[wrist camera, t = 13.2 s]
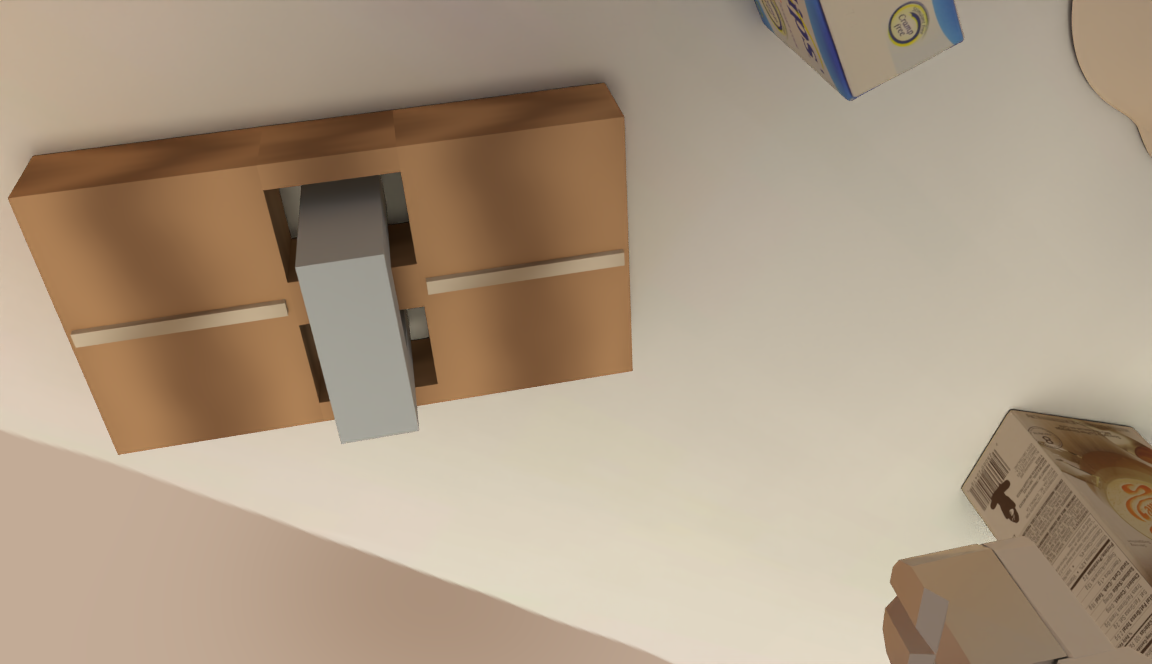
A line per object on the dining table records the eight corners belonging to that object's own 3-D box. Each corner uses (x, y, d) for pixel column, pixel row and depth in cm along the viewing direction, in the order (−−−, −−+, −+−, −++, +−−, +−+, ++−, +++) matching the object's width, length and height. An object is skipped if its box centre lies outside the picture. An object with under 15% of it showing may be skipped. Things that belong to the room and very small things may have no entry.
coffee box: (1136, 422, 58) (1363, 648, 45) (1078, 503, 62) (1274, 736, 49) (1007, 406, 56) (1209, 641, 43) (953, 492, 59) (1126, 735, 46)
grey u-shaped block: (377, 161, 41) (383, 254, 35) (409, 323, 45) (419, 430, 39) (302, 171, 40) (295, 267, 34) (341, 334, 45) (341, 443, 39)
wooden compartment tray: (604, 82, 41) (625, 119, 38) (615, 326, 48) (634, 374, 45) (32, 156, 38) (5, 202, 35) (132, 402, 45) (116, 459, 42)
